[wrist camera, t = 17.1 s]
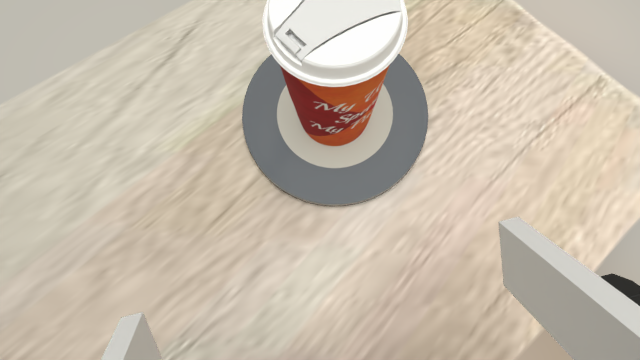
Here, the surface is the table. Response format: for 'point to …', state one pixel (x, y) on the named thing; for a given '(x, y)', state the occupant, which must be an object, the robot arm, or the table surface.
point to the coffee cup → (334, 59)
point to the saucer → (335, 161)
